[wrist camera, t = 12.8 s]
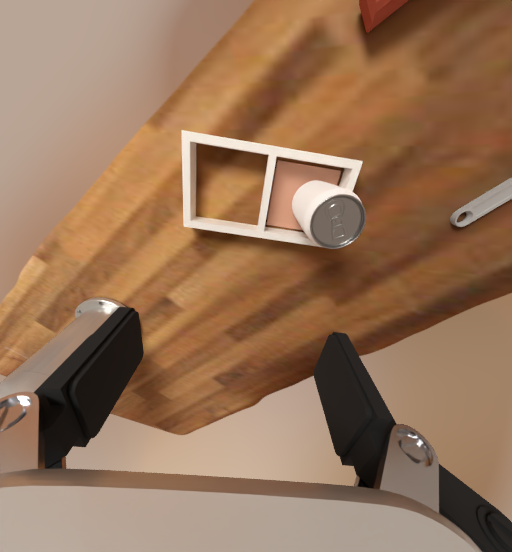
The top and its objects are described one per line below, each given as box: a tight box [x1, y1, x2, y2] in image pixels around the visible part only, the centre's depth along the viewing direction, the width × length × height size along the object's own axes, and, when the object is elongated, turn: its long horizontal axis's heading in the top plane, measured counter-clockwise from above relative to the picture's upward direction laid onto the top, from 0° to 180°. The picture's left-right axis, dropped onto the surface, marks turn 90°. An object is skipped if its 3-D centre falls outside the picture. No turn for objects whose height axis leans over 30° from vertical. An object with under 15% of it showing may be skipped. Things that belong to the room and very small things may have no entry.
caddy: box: [182, 130, 363, 247], centre depth 30 cm, size 12×23×3 cm, turn 82°
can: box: [292, 180, 366, 249], centre depth 27 cm, size 6×6×12 cm
